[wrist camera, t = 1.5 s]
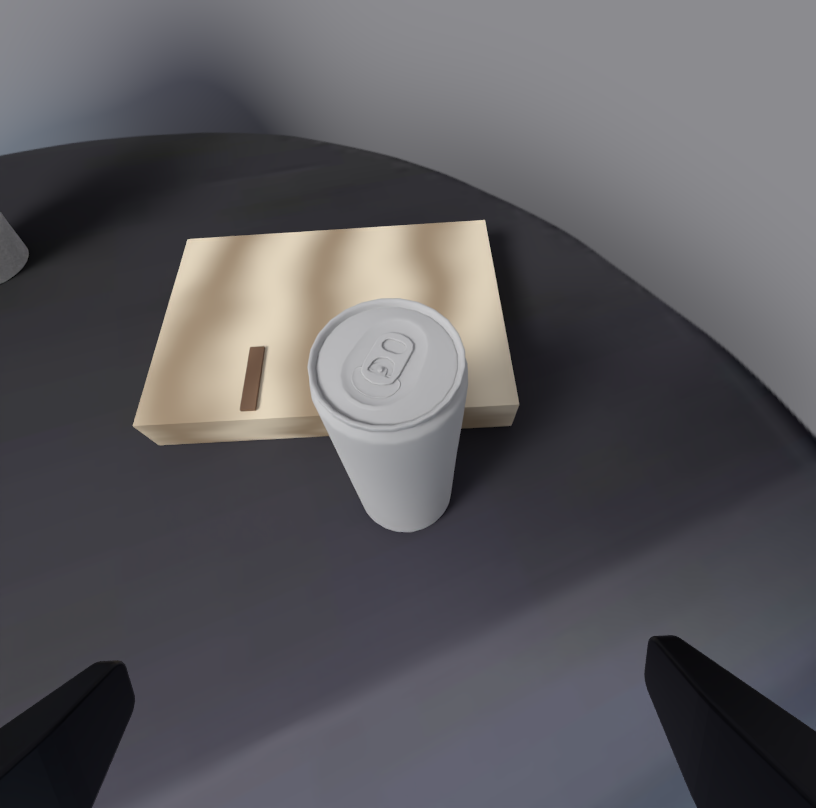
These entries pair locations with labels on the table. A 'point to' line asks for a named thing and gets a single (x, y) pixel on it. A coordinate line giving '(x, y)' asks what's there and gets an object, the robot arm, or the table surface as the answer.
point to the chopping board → (311, 325)
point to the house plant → (10, 251)
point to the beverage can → (393, 405)
